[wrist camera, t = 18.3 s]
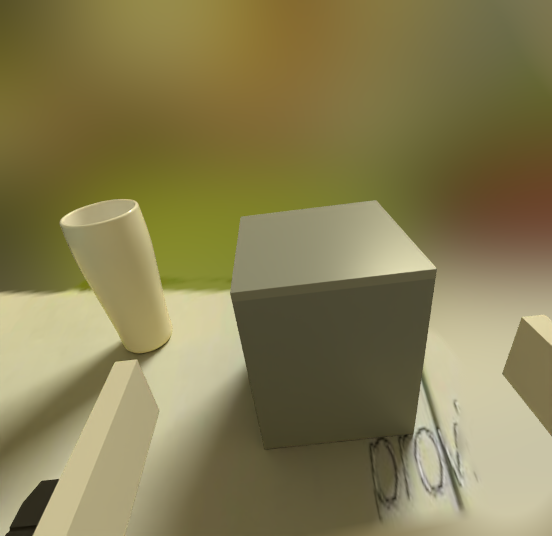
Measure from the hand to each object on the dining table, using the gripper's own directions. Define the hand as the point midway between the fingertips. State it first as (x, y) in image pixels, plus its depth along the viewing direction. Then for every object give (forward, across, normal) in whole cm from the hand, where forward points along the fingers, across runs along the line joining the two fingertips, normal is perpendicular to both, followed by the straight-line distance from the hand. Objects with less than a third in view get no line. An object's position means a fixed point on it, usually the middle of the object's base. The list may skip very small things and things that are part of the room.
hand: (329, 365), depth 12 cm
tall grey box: (+12, +2, -15) cm, 19 cm away
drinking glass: (+21, -16, -16) cm, 31 cm away
